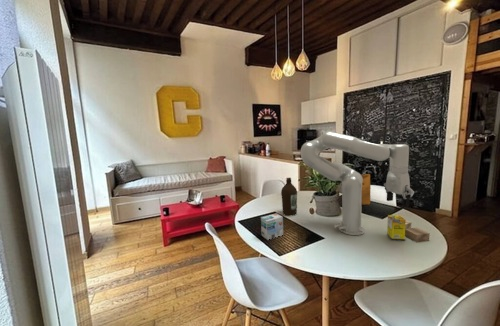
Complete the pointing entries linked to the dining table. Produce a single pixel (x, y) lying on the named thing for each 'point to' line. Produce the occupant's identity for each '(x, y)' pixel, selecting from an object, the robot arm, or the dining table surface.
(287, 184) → the olive oil
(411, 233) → the walnut block
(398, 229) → the supplement box
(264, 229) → the light bulb box
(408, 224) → the oak cube
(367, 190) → the coffee package
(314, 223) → the dining table surface
